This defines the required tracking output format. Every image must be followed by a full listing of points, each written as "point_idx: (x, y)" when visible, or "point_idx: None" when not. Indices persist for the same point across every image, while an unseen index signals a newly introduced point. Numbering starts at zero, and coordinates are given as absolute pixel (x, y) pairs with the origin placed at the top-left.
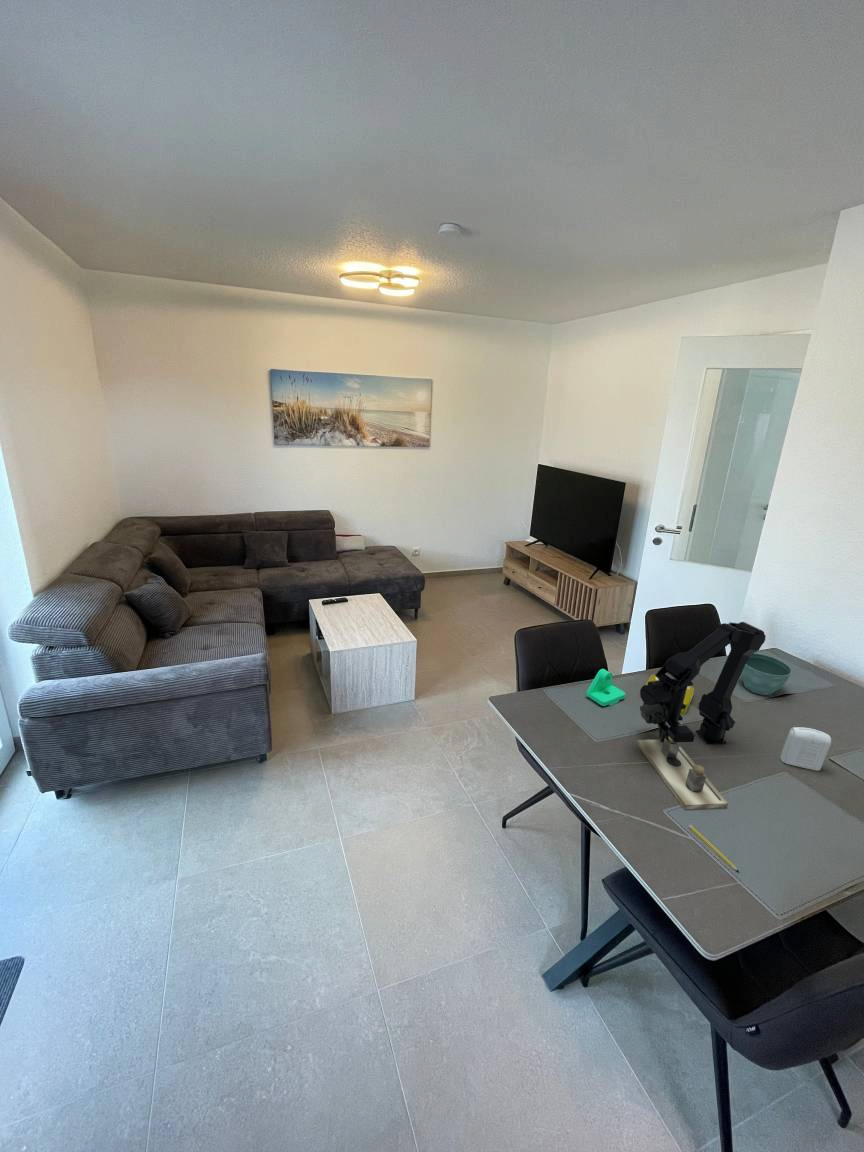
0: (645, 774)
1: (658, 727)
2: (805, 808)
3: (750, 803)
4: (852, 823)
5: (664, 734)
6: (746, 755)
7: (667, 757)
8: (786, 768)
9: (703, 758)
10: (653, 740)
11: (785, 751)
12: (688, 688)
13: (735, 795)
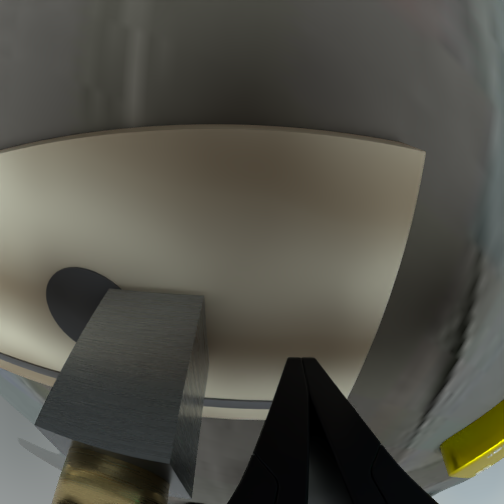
0: (21, 45)
1: (400, 478)
2: (56, 454)
3: (12, 397)
4: (54, 466)
5: (240, 485)
6: (220, 489)
7: (107, 298)
8: (176, 498)
9: (199, 435)
10: (376, 304)
11: None
12: (477, 472)
13: (22, 391)
